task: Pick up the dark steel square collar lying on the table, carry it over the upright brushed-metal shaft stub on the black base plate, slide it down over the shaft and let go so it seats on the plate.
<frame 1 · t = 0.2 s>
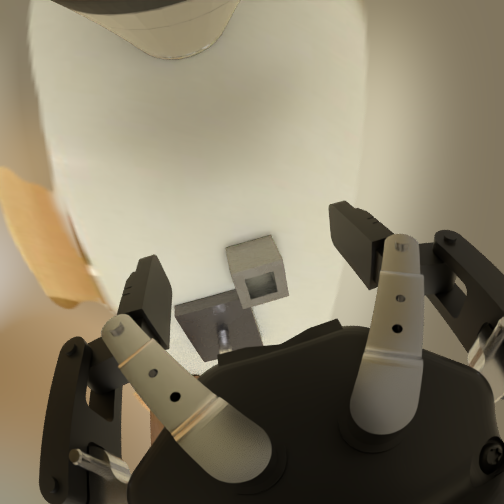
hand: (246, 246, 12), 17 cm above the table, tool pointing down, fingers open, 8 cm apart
shaft block: (221, 323, 40), on the table
collar: (253, 259, 34), on the table
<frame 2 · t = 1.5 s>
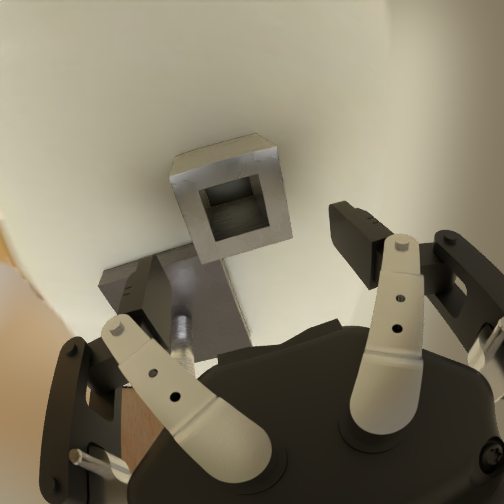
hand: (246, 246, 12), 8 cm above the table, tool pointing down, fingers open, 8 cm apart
shaft block: (182, 307, 24), on the table
wooden block: (138, 400, 33), on the table
collar: (226, 181, 19), on the table
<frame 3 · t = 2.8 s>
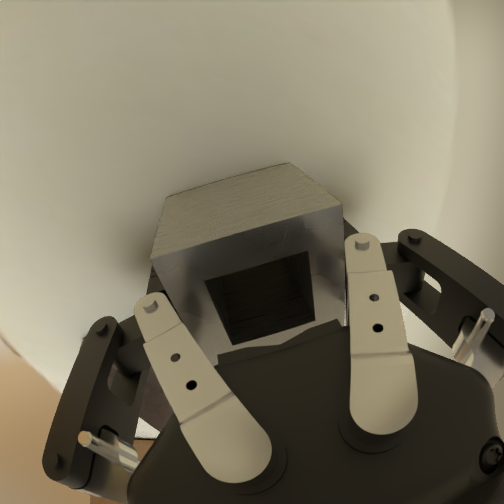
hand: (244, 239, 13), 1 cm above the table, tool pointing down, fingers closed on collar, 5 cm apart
shaft block: (183, 376, 18), on the table
wooden block: (138, 447, 27), on the table
collar: (242, 233, 13), on the table, touching gripper
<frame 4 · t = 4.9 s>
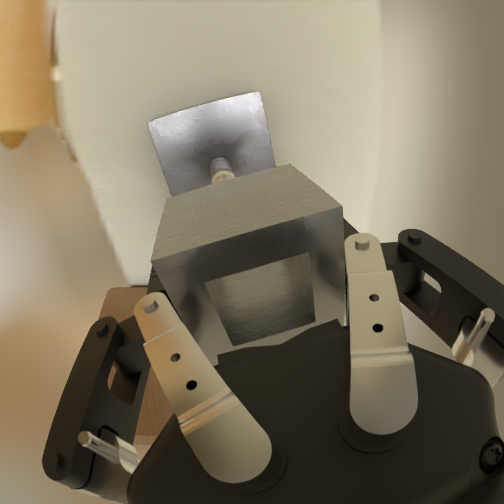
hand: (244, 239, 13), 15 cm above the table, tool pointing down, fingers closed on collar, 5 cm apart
shaft block: (218, 162, 25), on the table
wooden block: (150, 312, 34), on the table
collar: (243, 234, 13), point 15 cm above the table, touching gripper
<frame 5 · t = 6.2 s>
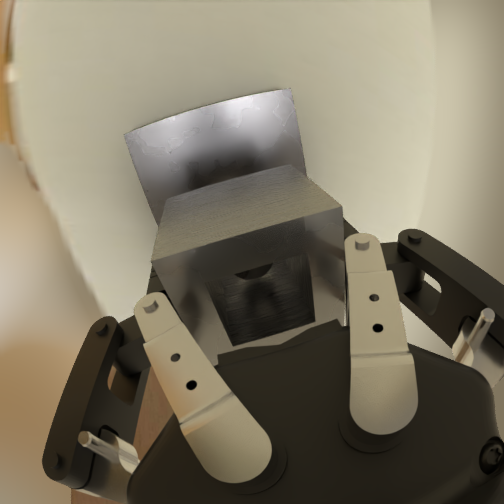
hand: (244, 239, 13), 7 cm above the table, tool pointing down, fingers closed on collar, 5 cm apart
shaft block: (228, 189, 18), on the table
wooden block: (147, 363, 27), on the table
collar: (243, 234, 13), point 7 cm above the table, touching gripper
when the fingers open (4 cm above the table, at t = 7.3 s): collar drops 1 cm, resting on shaft block.
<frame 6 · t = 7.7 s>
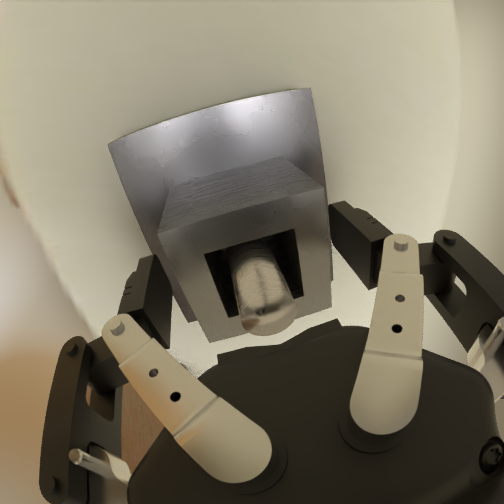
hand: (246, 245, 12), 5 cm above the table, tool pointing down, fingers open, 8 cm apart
shaft block: (233, 206, 16), on the table
wooden block: (145, 387, 24), on the table
collar: (239, 220, 14), point 2 cm above the table, touching shaft block
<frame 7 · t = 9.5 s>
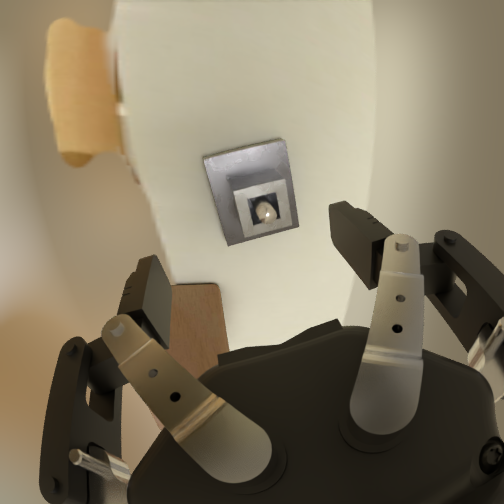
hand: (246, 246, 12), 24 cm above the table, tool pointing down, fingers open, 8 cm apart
shaft block: (252, 190, 35), on the table
wooden block: (189, 306, 43), on the table
collar: (255, 194, 34), point 2 cm above the table, touching shaft block
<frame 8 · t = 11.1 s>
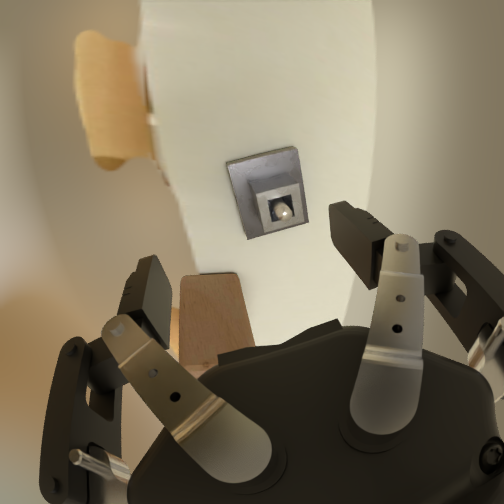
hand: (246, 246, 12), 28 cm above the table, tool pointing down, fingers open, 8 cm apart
shaft block: (268, 191, 41), on the table
wooden block: (210, 293, 49), on the table
collar: (271, 195, 39), point 2 cm above the table, touching shaft block
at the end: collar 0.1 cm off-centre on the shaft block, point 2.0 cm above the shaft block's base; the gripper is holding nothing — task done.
